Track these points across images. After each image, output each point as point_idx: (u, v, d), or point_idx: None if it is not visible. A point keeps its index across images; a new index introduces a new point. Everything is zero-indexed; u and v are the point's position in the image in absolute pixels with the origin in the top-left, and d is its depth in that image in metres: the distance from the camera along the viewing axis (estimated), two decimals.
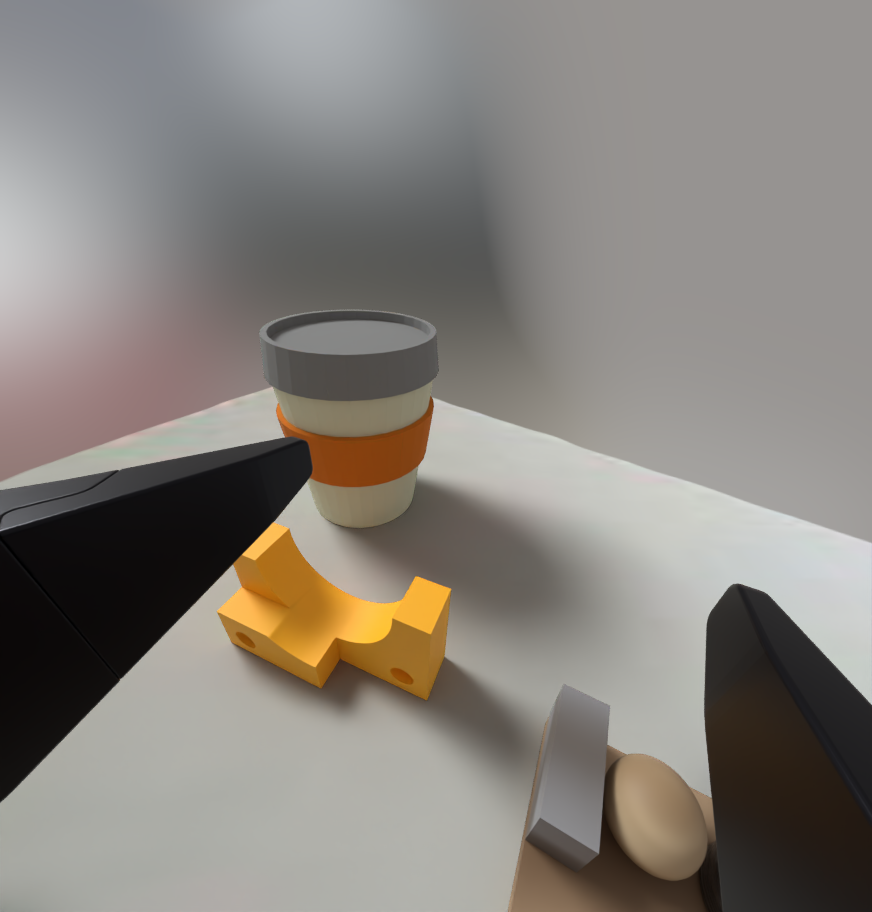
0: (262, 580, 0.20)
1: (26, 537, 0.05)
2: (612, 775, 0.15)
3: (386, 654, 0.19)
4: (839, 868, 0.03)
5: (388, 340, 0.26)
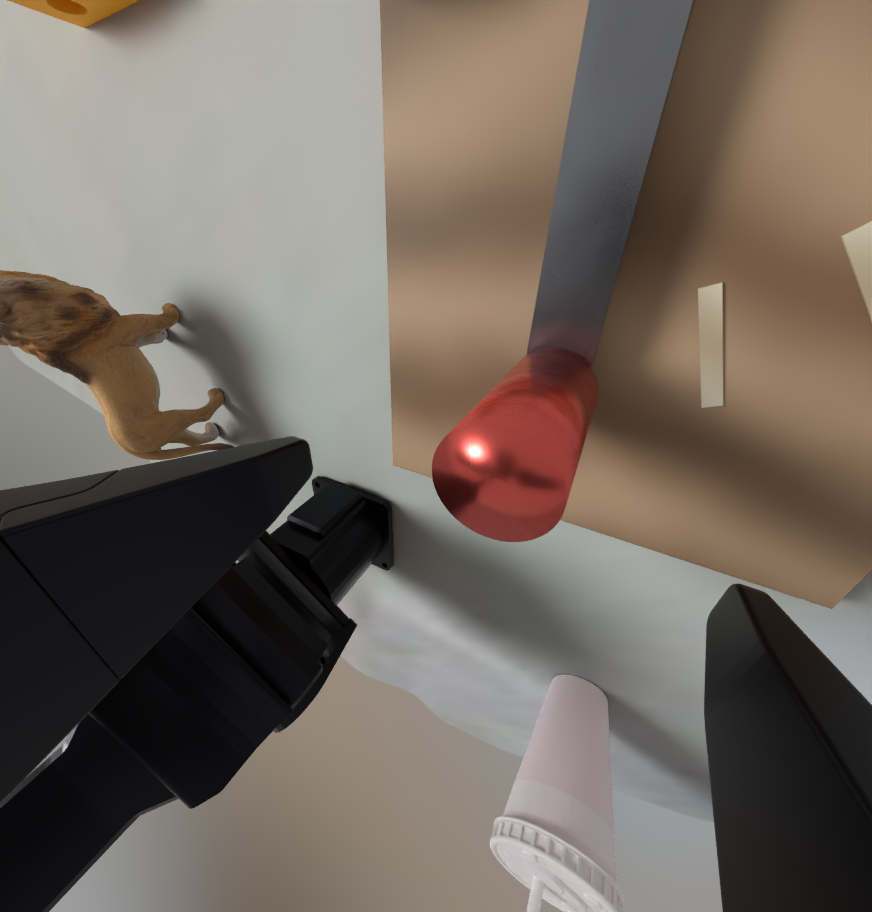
0: None
1: (25, 537, 0.05)
2: None
3: None
4: (839, 868, 0.03)
5: None
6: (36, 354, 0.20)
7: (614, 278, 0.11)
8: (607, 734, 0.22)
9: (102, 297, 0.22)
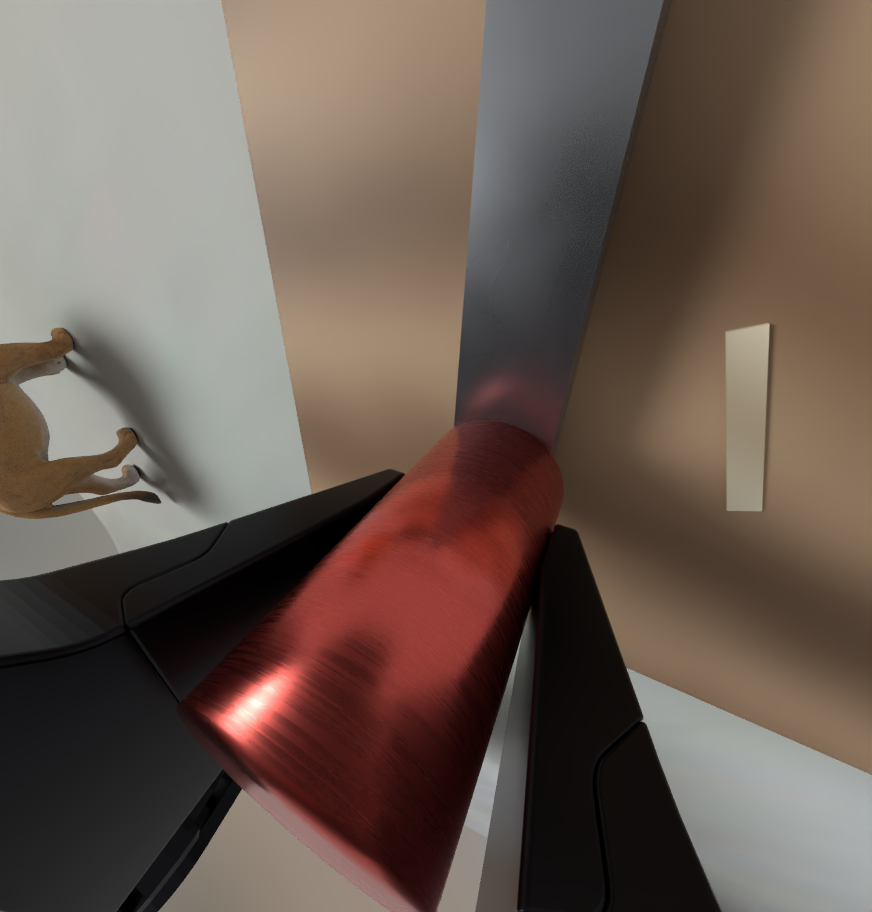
0: None
1: (150, 624, 0.04)
2: None
3: None
4: (524, 704, 0.04)
5: None
6: None
7: (582, 318, 0.06)
8: None
9: None
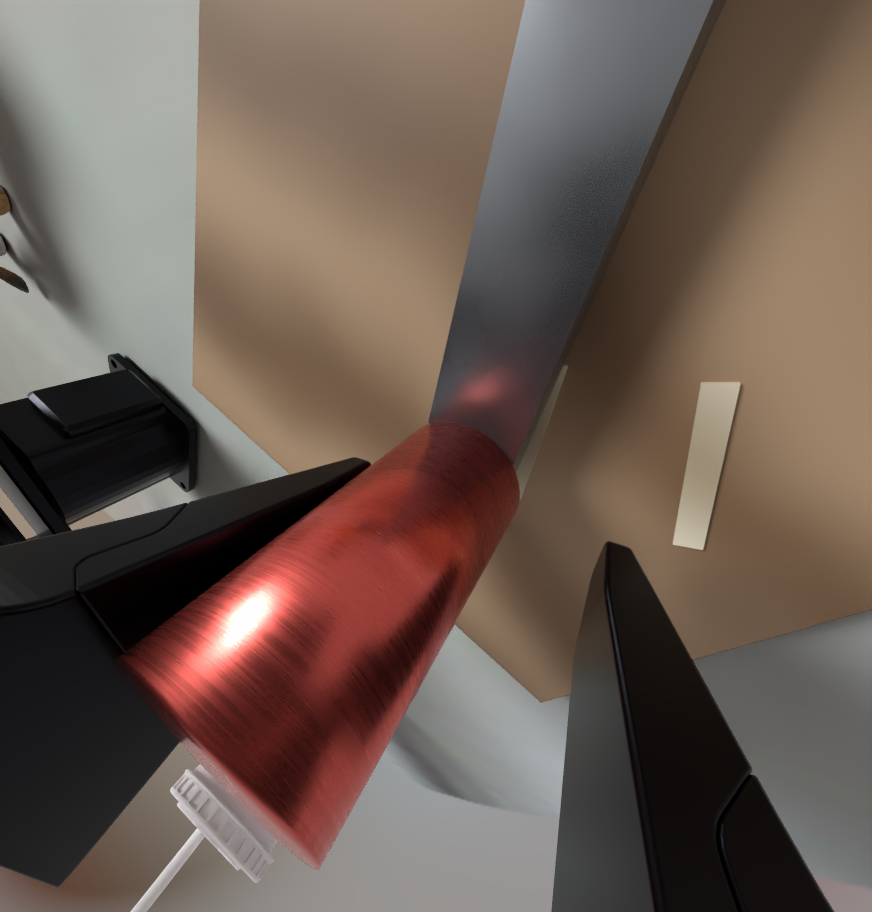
0: None
1: (102, 590, 0.04)
2: None
3: None
4: (606, 747, 0.04)
5: None
6: None
7: (562, 348, 0.06)
8: None
9: None
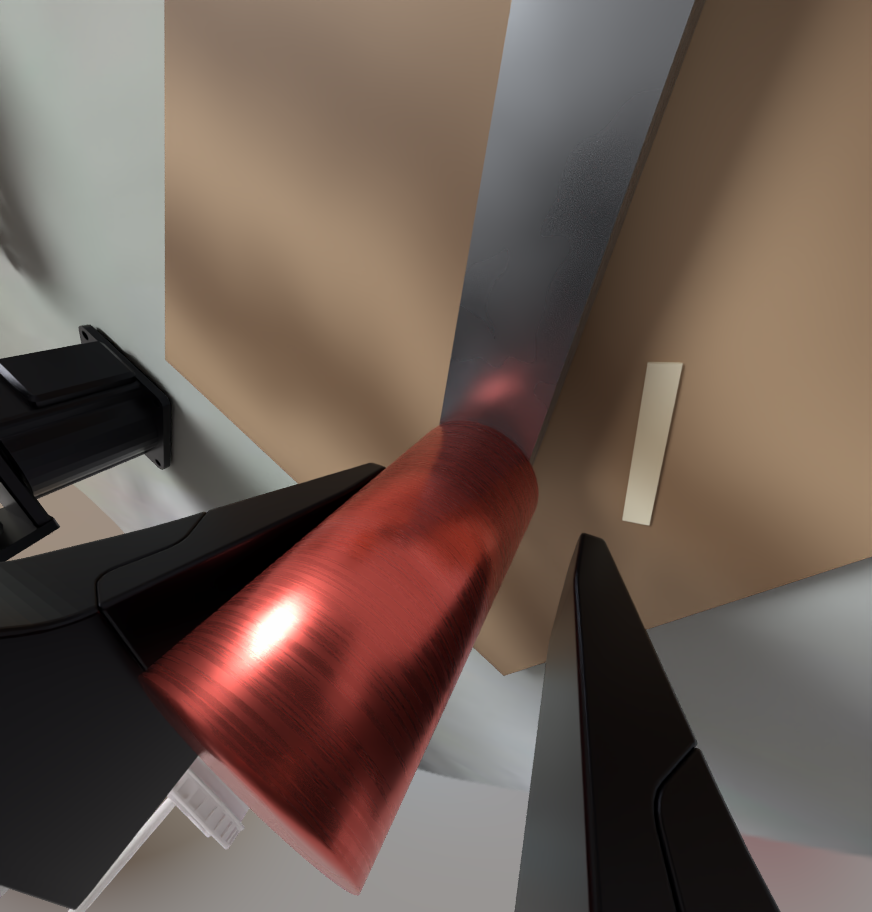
0: None
1: (125, 605, 0.04)
2: None
3: None
4: (565, 726, 0.04)
5: None
6: None
7: (573, 335, 0.06)
8: None
9: None
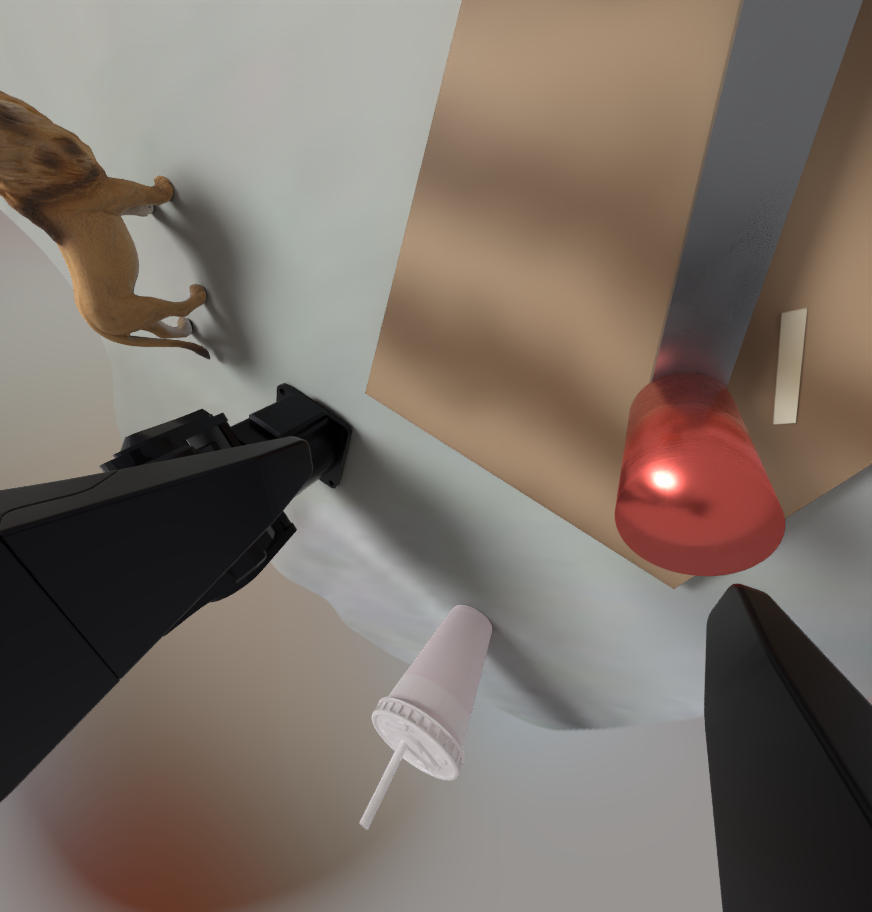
0: None
1: (25, 537, 0.05)
2: None
3: None
4: (839, 868, 0.03)
5: None
6: (5, 196, 0.18)
7: (755, 301, 0.11)
8: (484, 654, 0.27)
9: (88, 148, 0.20)
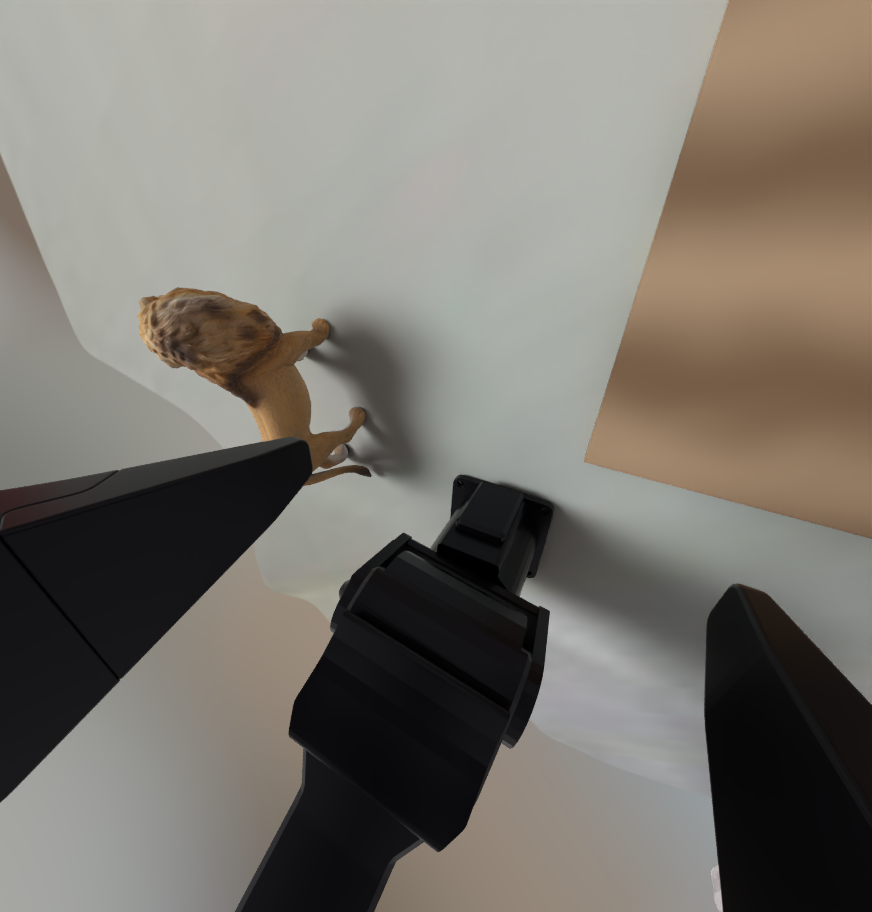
0: None
1: (26, 537, 0.05)
2: None
3: None
4: (839, 868, 0.03)
5: None
6: (214, 378, 0.18)
7: None
8: None
9: (266, 314, 0.21)
